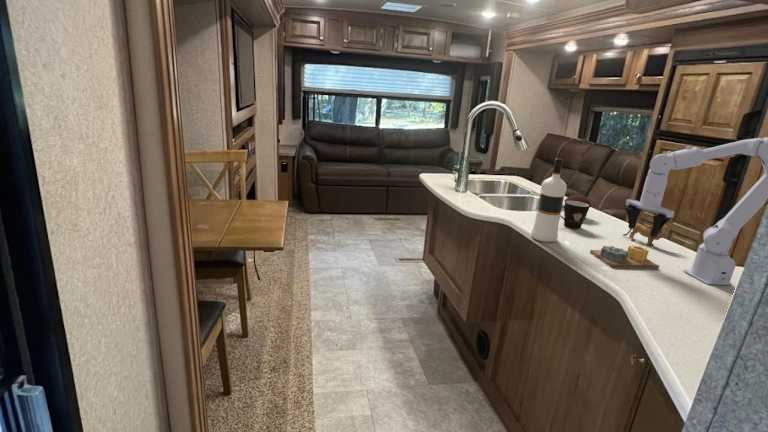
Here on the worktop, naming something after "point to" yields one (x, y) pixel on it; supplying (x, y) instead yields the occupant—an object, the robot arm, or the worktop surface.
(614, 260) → the gear board
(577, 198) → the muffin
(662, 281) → the worktop surface
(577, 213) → the coffee mug
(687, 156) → the robot arm
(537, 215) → the vodka
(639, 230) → the lion figurine
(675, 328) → the worktop surface
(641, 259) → the ochre gear
